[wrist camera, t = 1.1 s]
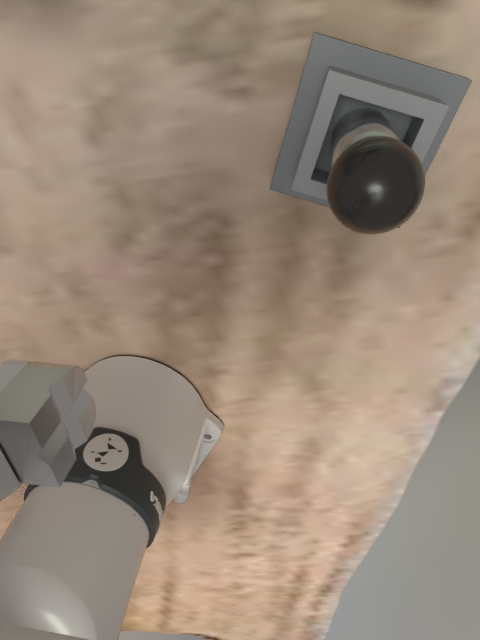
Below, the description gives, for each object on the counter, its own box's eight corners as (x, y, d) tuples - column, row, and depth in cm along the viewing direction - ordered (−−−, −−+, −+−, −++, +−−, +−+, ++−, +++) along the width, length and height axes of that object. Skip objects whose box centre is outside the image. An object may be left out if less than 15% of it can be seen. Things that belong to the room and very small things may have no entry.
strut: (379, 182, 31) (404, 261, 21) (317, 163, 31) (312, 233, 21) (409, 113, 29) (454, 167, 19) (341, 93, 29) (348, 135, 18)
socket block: (397, 221, 34) (405, 244, 30) (271, 184, 34) (265, 203, 30) (467, 77, 28) (486, 86, 25) (315, 32, 28) (313, 34, 24)
